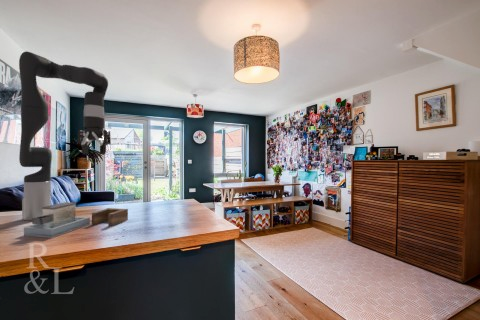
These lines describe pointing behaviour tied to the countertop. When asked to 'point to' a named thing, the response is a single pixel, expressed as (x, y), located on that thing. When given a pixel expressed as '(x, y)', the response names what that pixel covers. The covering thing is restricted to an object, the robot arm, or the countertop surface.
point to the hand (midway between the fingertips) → (94, 154)
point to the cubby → (110, 216)
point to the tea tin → (56, 215)
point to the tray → (56, 228)
